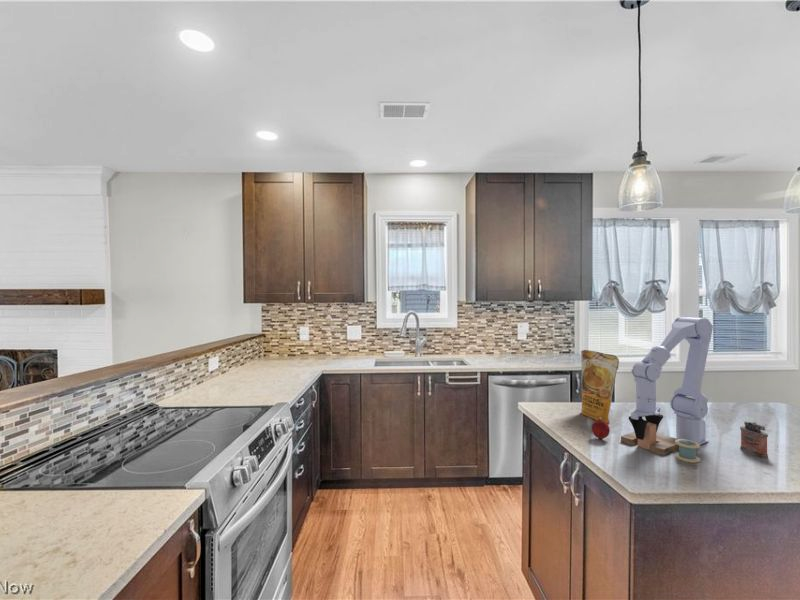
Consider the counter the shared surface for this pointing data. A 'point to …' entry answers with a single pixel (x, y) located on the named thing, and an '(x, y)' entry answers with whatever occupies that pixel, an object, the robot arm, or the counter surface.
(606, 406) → the pancake mix bag
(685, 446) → the spool
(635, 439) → the notched board
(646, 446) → the peg
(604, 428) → the onion
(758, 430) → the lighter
